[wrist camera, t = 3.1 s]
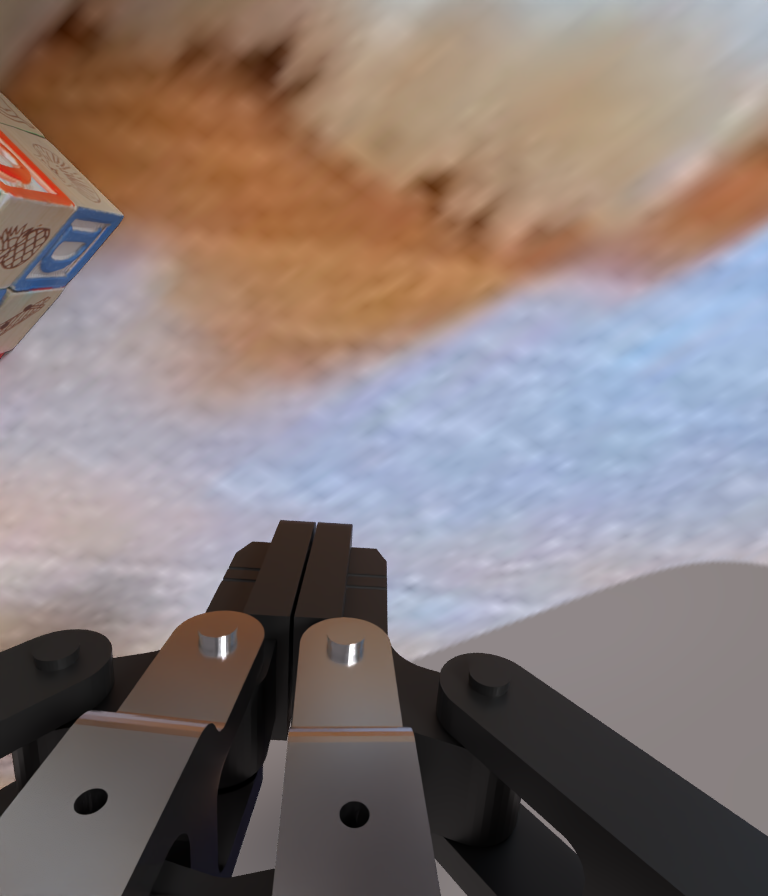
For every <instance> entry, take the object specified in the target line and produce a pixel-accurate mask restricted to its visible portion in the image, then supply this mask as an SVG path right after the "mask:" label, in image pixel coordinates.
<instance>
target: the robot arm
mask: <svg viewBox="0 0 768 896" xmlns="http://www.w3.org/2000/svg"><path fill="white" fill-rule="evenodd" d="M352 528H353V524H338V523H322V522H318V524H317V528H316V523H315V522H304V521H287V520H280V522H279V524H278V527H277V529H276V532H275V534H274V537H273V539H272V542H271V543H268V542H251V543H250V544H248V545H247V546H245V547H244V548H242V549H241V550H240V551H238V552H237V553H236V554H235V556H234V558H233V560H232V562H231V564H230V566H229V569H228V570H227V572H226V574H225V576H224V578H223V581H222V582H221V583H220V585H219V587H218V589H217V591H216V593H215V595H214V597H213V599H212V601H211V603H210V605H209V607H208V609H207V611H206V613H203V614H200V615H197V616H194V617H192V618H190V619H188V620H186V621H185V622H183V623H182V624H180V625H179V626H178V627H177V628H176V629H175V630H174V632H173V633H172V634H171V636H170V637H169V639H168V640H167V641H166V643H165V644H164V646H163V647H162V649H161V650H158V651H154V652H149V653H144V654H137V655H130V656H124V657H117V658H113V655H112V645H111V643H110V641H109V640H108V639H107V638H106V637H105V636H104V635H102V634H100V633H97V632H94V631H90V630H80V629H78V630H63V631H58V632H53V633H49V634H45V635H42V636H40V637H37V638H34V639H32V640H29V641H27V642H24V643H22V644H20V645H17V646H15V647H12V648H10V649H7V650H5V651H3V652H0V759H1V758H2V757H4V756H6V755H8V754H10V753H12V758H13V765H14V772H15V779H16V781H15V782H13V783H11V784H9V785H8V786H6V787H4V788H2V789H1V790H0V896H441V894H440V887H439V881H438V875H437V869H436V863H435V859H436V860H437V861H438V862H439V864H441V866H442V867H443V868H444V869H445V870H446V872H447V873H448V874H449V875H450V876H451V877H452V878H453V880H454V881H455V882H456V883H457V884H458V885H459V886H460V888H461V889H462V890H463V891H464V892H465V893H466V894H467V896H768V836H766V835H765V834H763V833H762V832H761V831H759V830H758V829H756V828H755V827H753V826H752V825H750V824H749V823H747V822H746V821H745V820H743V819H741V818H740V817H739V816H737V815H736V814H734V813H733V812H732V811H730V810H729V809H727V808H726V807H724V806H723V805H721V804H720V803H718V802H717V801H716V800H714V799H713V798H711V797H710V796H708V795H707V794H705V793H704V792H702V791H701V790H699V789H698V788H697V787H695V786H694V785H692V784H691V783H689V782H688V781H686V780H685V779H683V778H682V777H681V776H679V775H678V774H676V773H675V772H673V771H672V770H670V769H669V768H667V767H666V766H665V765H663V764H662V763H660V762H659V761H657V760H656V759H654V758H653V757H651V756H650V755H649V754H647V753H646V752H644V751H643V750H641V749H639V748H638V747H637V746H635V745H634V744H633V743H631V742H630V741H628V740H627V739H625V738H624V737H622V736H621V735H619V734H618V733H617V732H615V731H614V730H612V729H611V728H609V727H607V726H606V725H605V724H603V723H602V722H601V721H599V720H598V719H596V718H595V717H593V716H592V715H590V714H589V713H587V712H586V711H584V710H583V709H582V708H580V707H579V706H577V705H576V704H574V703H573V702H571V701H570V700H568V699H567V698H566V697H564V696H563V695H561V694H560V693H558V692H557V691H555V690H554V689H552V688H551V687H550V686H548V685H546V684H545V683H544V682H542V681H541V680H539V679H538V678H536V677H535V676H534V675H532V674H531V673H529V672H528V671H526V670H525V669H523V668H522V667H520V666H519V665H517V664H516V663H514V662H512V661H510V660H508V659H505V658H502V657H499V656H496V655H492V654H485V653H468V654H463V655H459V656H457V657H454V658H453V659H451V660H449V661H448V662H447V663H446V664H445V665H444V666H443V668H442V669H441V672H440V673H439V672H436V671H433V670H429V669H426V668H423V667H420V666H417V665H415V664H413V663H411V662H409V661H407V660H406V659H404V658H403V657H401V656H400V655H399V654H398V653H397V652H396V651H395V650H394V649H393V648H392V646H391V643H390V639H389V637H388V627H387V561H386V560H385V559H384V558H383V557H382V555H381V554H380V553H379V552H378V550H377V549H370V548H354V547H352ZM290 722H291V727H290ZM289 727H290V728H289ZM288 732H289V734H288ZM287 737H288V744H287V753H286V763H285V773H284V783H283V794H282V803H281V814H280V823H279V834H278V843H277V852H276V862H275V869H271V870H265V871H260V872H256V873H251V874H246V875H241V876H236V877H232V875H233V871H234V868H235V865H236V862H237V859H238V856H239V853H240V850H241V847H242V844H243V841H244V838H245V835H246V831H247V828H248V825H249V822H250V819H251V816H252V813H253V810H254V807H255V804H256V801H257V797H258V794H259V791H260V788H261V785H262V781H263V763H264V761H265V759H266V756H267V752H268V748H269V743H270V740H287ZM521 798H522V799H523V800H524V801H525V802H526V803H527V804H528V805H530V806H531V807H532V808H533V809H534V810H535V811H536V812H537V813H538V814H540V815H541V816H542V817H543V818H544V819H545V820H546V821H547V822H549V823H550V824H551V825H552V826H553V827H554V828H555V829H556V830H557V831H559V832H560V833H561V834H562V835H563V836H564V837H565V838H566V839H567V840H568V841H569V843H570V844H571V845H572V847H573V848H574V849H575V851H576V853H577V854H576V853H575V852H574V851H573V850H572V849H571V848H569V847H568V846H567V845H566V844H565V843H564V842H563V841H562V840H561V839H560V838H558V837H557V836H556V835H555V834H554V833H553V832H552V831H551V830H550V829H548V828H547V827H546V826H545V825H544V824H543V823H542V822H541V821H540V820H539V819H537V818H536V817H535V816H534V815H533V814H532V813H531V812H530V811H529V810H527V809H526V808H525V807H524V806H523V805H522V804H521V803H520V801H521Z"/></svg>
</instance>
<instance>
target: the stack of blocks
mask: <svg viewBox="0 0 768 896" xmlns="http://www.w3.org/2000/svg"><path fill="white" fill-rule="evenodd" d="M123 217H124V216H123V214H122V213H121V212H120V211H119V210H118V209H117V208H116V207H115V206H114V205H113V204H112V203H111V202H110V201H109V200H108V199H107V198H106V197H105V196H104V195H103V194H102V193H101V192H100V191H99V190H98V189H97V188H96V187H95V186H94V185H93V184H92V183H91V182H90V181H89V180H88V179H87V178H86V177H85V176H84V175H83V174H82V173H80V172H79V171H78V170H77V169H76V168H75V167H74V166H73V165H72V164H71V163H70V162H69V161H68V160H67V159H66V158H65V157H64V156H63V155H62V154H61V153H60V152H59V151H58V150H57V149H56V148H55V147H54V146H53V145H52V144H51V143H50V142H49V141H48V140H46V139H45V137H44V135H43V134H42V133H41V132H40V131H39V130H38V129H37V128H36V127H35V126H34V125H33V124H32V123H31V122H30V121H29V120H28V119H27V118H26V117H25V116H24V115H23V114H22V113H21V112H20V111H19V110H18V109H17V108H16V107H15V106H14V105H13V104H12V103H11V102H10V101H9V100H8V99H7V98H6V97H5V96H4V95H3V94H2V93H1V92H0V358H1V357H2V356H3V354H4V353H5V352H7V351H9V350H12V349H13V348H14V347H15V346H16V345H17V344H18V343H19V341H20V340H21V339H22V338H23V337H24V336H25V334H26V333H27V332H28V331H29V330H30V329H31V327H32V326H33V325H34V324H35V323H36V322H37V321H38V319H39V318H40V317H41V316H42V315H43V314H44V313H45V311H46V310H47V309H48V308H49V307H50V306H51V305H52V303H53V302H54V301H55V300H56V299H57V298H58V297H59V295H60V294H61V292H62V291H63V290H64V288H65V286H66V284H67V283H68V282H69V281H70V280H71V279H72V278H73V277H74V276H75V275H76V274H77V273H78V272H79V271H80V269H81V268H82V267H83V266H84V265H85V263H87V261H88V260H89V259H90V258H91V257H92V255H93V254H94V253H95V252H96V250H97V249H98V248H99V247H100V246H101V245H102V244H103V242H104V241H105V240H106V239H107V238H108V236H109V235H110V234H111V233H112V232H113V231H114V229H115V228H116V227H117V226H118V225H119V223H120V222H121V221H122V219H123Z"/></svg>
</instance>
